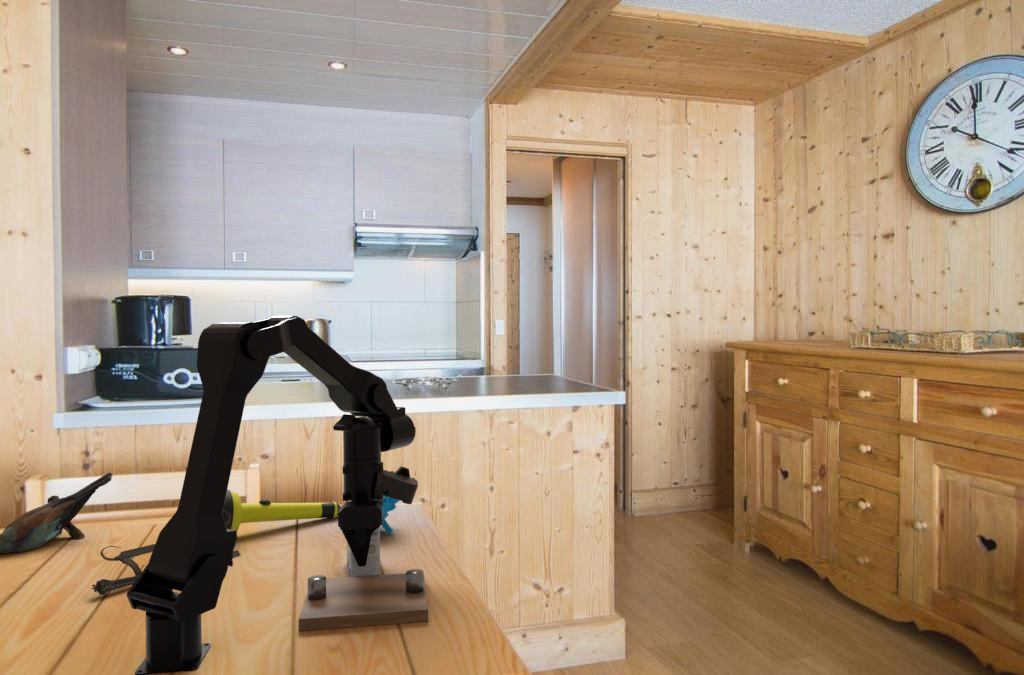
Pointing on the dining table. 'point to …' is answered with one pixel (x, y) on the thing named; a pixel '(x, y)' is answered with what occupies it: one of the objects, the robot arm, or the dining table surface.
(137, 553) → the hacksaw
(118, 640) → the dining table surface
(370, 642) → the dining table surface
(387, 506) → the blue jagged branching piece
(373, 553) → the medicine box
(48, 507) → the bird figurine
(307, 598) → the board
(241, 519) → the flashlight
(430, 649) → the dining table surface
